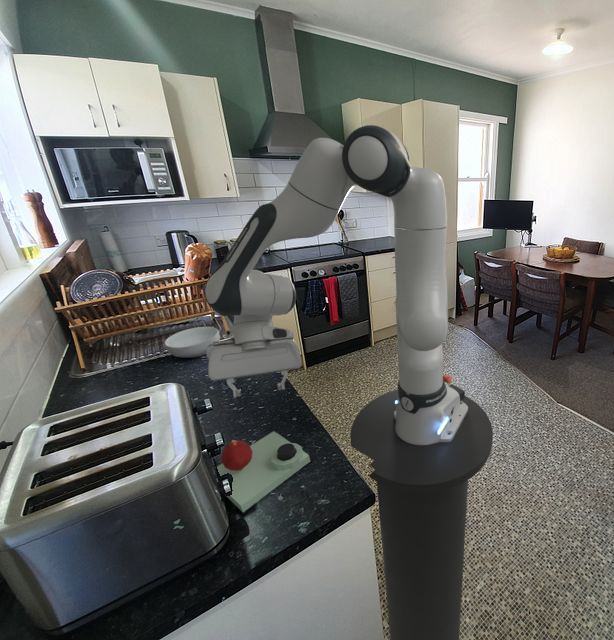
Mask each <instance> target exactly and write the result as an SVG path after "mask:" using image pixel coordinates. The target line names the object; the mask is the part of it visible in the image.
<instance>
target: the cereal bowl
mask: <svg viewBox="0 0 614 640" xmlns="http://www.w3.org/2000/svg"><path fill="white" fill-rule="evenodd" d="M220 336H221V335H220V331H219V329H218V328H216V327H214V326H198V327H197V326H196V327H192V328H187V329H184V330H181V331H178V332H175V333H174V334H172V335H170V336H168V337H167V338H166V340H165V341H164V345H165V348H166V350H167V352H168V353H169V354H170V355H172V356H174V357H177V358H181V359H186V358H188V359H195V358H200V357H202V356H206V349H207V347H208V346H209V345H210V344H212V343H213V342H215V341H221V337H220ZM212 346H213V345H212ZM210 347H211V346H210Z"/></svg>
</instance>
